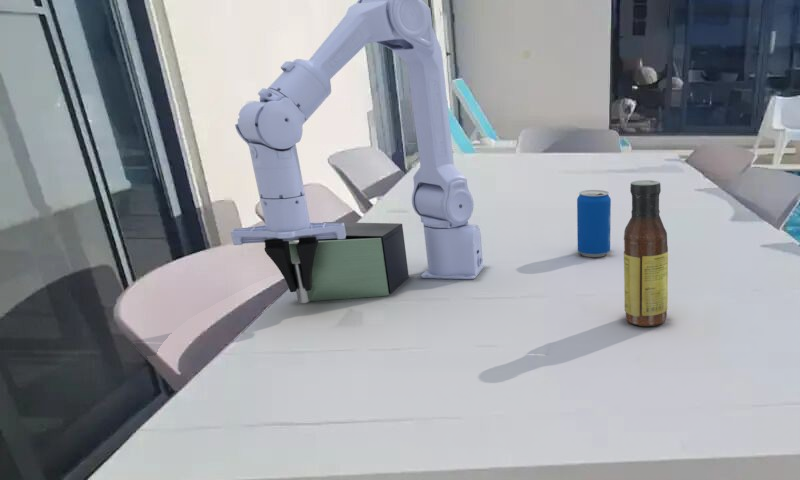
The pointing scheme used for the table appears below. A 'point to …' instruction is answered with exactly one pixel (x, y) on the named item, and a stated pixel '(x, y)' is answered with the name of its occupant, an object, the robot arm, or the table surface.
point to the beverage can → (593, 223)
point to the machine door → (343, 270)
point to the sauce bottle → (645, 258)
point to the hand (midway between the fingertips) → (301, 289)
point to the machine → (391, 247)
